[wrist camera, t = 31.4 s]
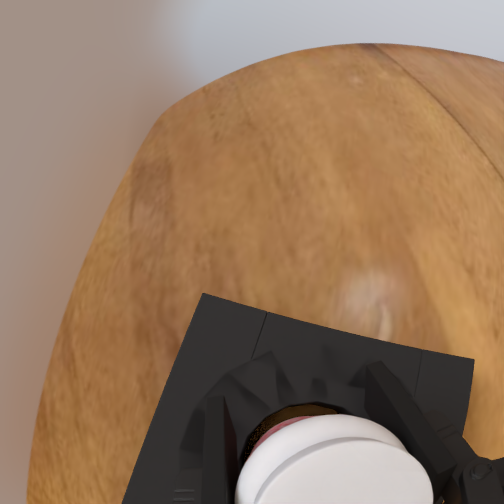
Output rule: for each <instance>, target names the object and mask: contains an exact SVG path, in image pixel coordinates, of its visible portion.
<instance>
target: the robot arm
mask: <svg viewBox="0 0 504 504" xmlns="http://www.w3.org/2000/svg"><path fill="white" fill-rule="evenodd" d="M364 408H365V410H366V412H367V414H368V416H369V418H370V419H371V421H373V422H375V423H377V424H379V425H381V426H383V427H385V428H386V429H387V430H389V431H390V432H391V433H393V434H394V435H395V436H396V437H397V438H398V439H399V440H400V441H401V443H402V444H403V445H404V447H405V448H406V450H407V452H408V453H409V454H410V455H412V456H413V457H414V458H415V459H416V460H417V461H418V462H420V464H421V465H422V466H423V468H424V469H425V471H426V473H427V475H428V477H429V479H430V482H431V485H432V491H433V504H434V503H436V502H437V501H438V499H439V498H440V496H442V498H443V499H444V501H445V502H444V503H443V504H504V457H503V458H500V459H496V460H489V459H488V458H483V457H479V456H477V455H476V454H475V452H474V451H473V450H472V448H471V447H470V446H469V445H468V443H467V442H466V441H465V439H464V438H463V437H462V436H461V434H460V433H459V432H457V429H456V428H455V427H454V426H453V425H452V423H451V422H450V421H449V419H448V418H447V417H446V416H445V415H444V414H442V413H441V412H439V411H437V410H435V409H434V410H432V411H430V412H428V413H425V414H423V415H422V413H421V412H420V411H419V409H418V408H417V407H416V405H415V404H414V403H413V401H412V400H411V398H410V397H409V396H408V394H407V393H406V392H405V390H404V389H403V388H402V387H401V385H400V384H399V383H398V381H397V380H396V379H395V377H394V376H393V375H392V373H391V372H390V371H389V369H388V368H387V367H386V365H385V364H384V363H383V362H382V360H380V361H377V362H373V363H370V364H367V365H366V379H365V400H364ZM238 478H239V470H238V454H237V436H236V433H235V429H234V426H233V423H232V420H231V417H230V413H229V410H228V407H227V403H226V400H225V397H224V395H220V396H212V397H206V412H205V429H204V446H203V466H202V468H186V469H182V470H181V471H180V473H179V474H178V476H177V478H176V480H175V489H174V491H175V492H174V498H173V500H174V501H173V504H235V490H236V485H237V482H238Z"/></svg>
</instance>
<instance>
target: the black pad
mask: <svg viewBox="0 0 504 504" xmlns="http://www.w3.org/2000/svg"><path fill="white" fill-rule="evenodd" d="M380 360H382V362H383V363H384V364H385V365H386V367H387V368H388V369H389V371H390V372H391V373H392V375H393V376H394V377H395V379H396V380H397V381H398V383H399V384H400V385H401V387H402V388H403V389H404V390H405V392H406V393H407V394H408V396H409V397H410V398H411V400H412V401H413V403H414V404H415V405H416V407H417V408H418V409H419V411H420V412H421V413H422V415H423V414H425V413H428V412H430V411H432V410H434V409H435V410H437V411H439V412H441V413H442V414H444V415H445V416H446V417H447V418H448V419H449V421H450V422H451V423H452V425H453V426H454V427H455V428H456V429H457V432H459V433H460V434H461V436H462V435H463V430H464V425H465V421H466V416H467V410H468V405H469V399H470V392H471V386H472V378H473V370H474V361H475V360H474V359H470V358H465V357H459V356H454V355H449V354H443V353H438V352H433V351H428V350H422V349H418V348H414V347H409V346H404V345H400V344H395V343H390V342H386V341H382V340H377V339H373V338H369V337H364V336H360V335H356V334H352V333H348V332H343V331H339V330H335V329H331V328H327V327H323V326H319V325H316V324H312V323H308V322H304V321H300V320H296V319H293V318H289V317H285V316H282V315H278V314H274V313H271V312H268V313H267V311H264V310H260V309H257V308H253V307H250V306H246V305H243V304H239V303H236V302H232V301H229V300H226V299H222V298H219V297H216V296H212V295H209V294H206V293H202V296H201V298H200V301H199V303H198V305H197V308H196V310H195V313H194V315H193V318H192V320H191V322H190V325H189V327H188V330H187V332H186V335H185V337H184V340H183V342H182V345H181V347H180V350H179V352H178V355H177V357H176V360H175V362H174V365H173V367H172V370H171V372H170V375H169V377H168V380H167V382H166V385H165V388H164V390H163V393H162V395H161V398H160V401H159V403H158V406H157V408H156V411H155V414H154V416H153V419H152V421H151V424H150V427H149V429H148V432H147V435H146V437H145V440H144V443H143V446H142V448H141V451H140V454H139V456H138V459H137V462H136V465H135V467H134V470H133V473H132V476H131V479H130V481H129V484H128V487H127V490H126V493H125V495H124V498H123V501H122V504H173V501H174V500H173V498H174V492H175V491H174V489H175V480H176V478H177V476H178V474H179V473H180V471H181V470H182V469H186V468H202V466H203V446H204V429H205V412H206V397H212V396H220V395H224V397H225V400H226V403H227V407H228V410H229V413H230V417H231V420H232V423H233V426H234V429H235V433H236V436H237V454H238V470H239V475H240V473H241V470H242V468H243V466H244V452H245V450H246V447H247V444H248V441H249V439H250V436H251V434H252V433H253V432H254V431H255V429H256V428H257V427H258V426H259V425H260V424H261V423H262V422H263V421H264V420H265V419H266V417H268V416H270V415H272V414H274V413H276V412H278V411H280V410H282V409H284V408H286V407H289V406H298V405H306V404H314V405H318V406H322V407H327V408H331V409H334V410H335V411H337V412H338V413H340V414H344V415H351V416H355V417H360V418H364V419H368V420H370V421H371V419H370V418H369V416H368V414H367V412H366V410H365V408H364V400H365V379H366V365H367V364H370V363H373V362H377V361H380ZM443 500H444V499H443V498H442V496H440V498H439V499H438V501H437V502H436V503H434V504H442V502H443Z"/></svg>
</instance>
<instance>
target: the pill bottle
mask: <svg viewBox="0 0 504 504" xmlns="http://www.w3.org/2000/svg"><path fill="white" fill-rule="evenodd" d="M235 504H433V491H432V485H431V482H430V479H429V477H428V475H427V473H426V471H425V469H424V468H423V466H422V465H421V464H420V462H418V461H417V460H416V459H415V458H414V457H413V456H412V455H410V454H409V453H408V452H407V450H406V448H405V447H404V445H403V444H402V443H401V441H400V440H399V439H398V438H397V437H396V436H395V435H394V434H393V433H391V432H390V431H389V430H387V429H386V428H385V427H383V426H381V425H379V424H377V423H375V422H373V421H370V420H368V419H364V418H360V417H355V416H351V415H344V414H336V415H322V416H302V417H296V418H292V419H289V420H286V421H284V422H281V423H279V424H277V425H276V426H274V427H273V428H271V429H270V430H268V431H267V432H266V433H265V434H264V435H263V436H262V437H261V438H260V439H259V441H258V442H257V443H256V445H255V446H254V448H253V450H252V452H251V454H250V455H249V457H248V459H247V461H246V463H245V464H244V466H243V468H242V470H241V473H240V475H239V478H238V482H237V485H236V490H235Z"/></svg>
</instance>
